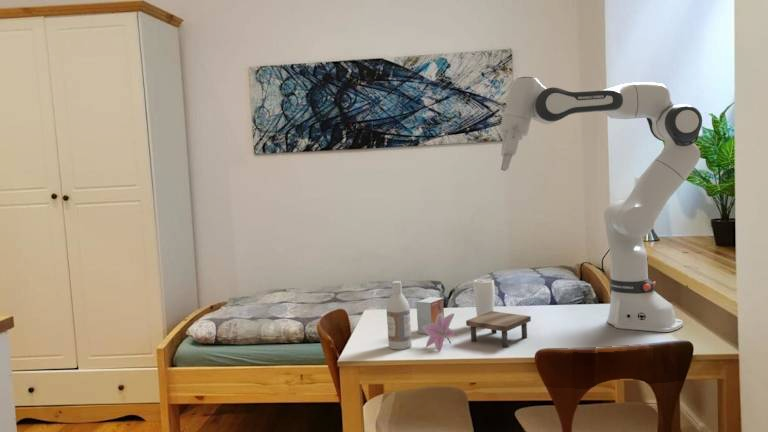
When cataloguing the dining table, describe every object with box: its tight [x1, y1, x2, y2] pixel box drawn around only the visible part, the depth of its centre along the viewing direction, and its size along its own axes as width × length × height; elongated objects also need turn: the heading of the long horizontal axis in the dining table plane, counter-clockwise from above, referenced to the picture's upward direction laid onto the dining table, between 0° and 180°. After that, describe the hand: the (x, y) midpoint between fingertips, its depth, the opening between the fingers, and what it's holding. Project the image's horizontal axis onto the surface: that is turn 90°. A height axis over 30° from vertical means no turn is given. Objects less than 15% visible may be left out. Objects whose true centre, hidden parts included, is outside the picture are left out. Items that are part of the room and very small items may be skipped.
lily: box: [423, 313, 456, 352], centre depth 201 cm, size 12×12×10 cm
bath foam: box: [386, 280, 412, 351], centre depth 202 cm, size 7×7×20 cm
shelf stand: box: [465, 310, 532, 348], centre depth 204 cm, size 14×14×6 cm
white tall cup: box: [473, 278, 496, 317], centre depth 221 cm, size 7×7×15 cm
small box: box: [415, 296, 445, 335], centre depth 218 cm, size 8×6×10 cm
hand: (504, 169), depth 213 cm, fingers open, 8 cm apart
